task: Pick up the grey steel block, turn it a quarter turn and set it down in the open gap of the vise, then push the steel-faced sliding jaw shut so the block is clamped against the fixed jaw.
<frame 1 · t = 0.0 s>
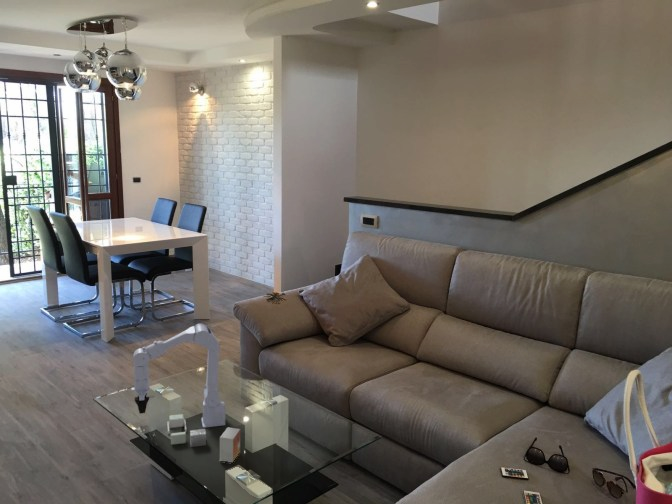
hand: (142, 408, 232), 10 cm above the table, tool pointing down, fingers open, 7 cm apart
vise frame: (178, 442, 226), on the table
sliding jaw: (176, 421, 238), point 2 cm above the table, slide at 0.0 cm
steel block: (198, 443, 227), on the table
small box: (230, 457, 218), on the table
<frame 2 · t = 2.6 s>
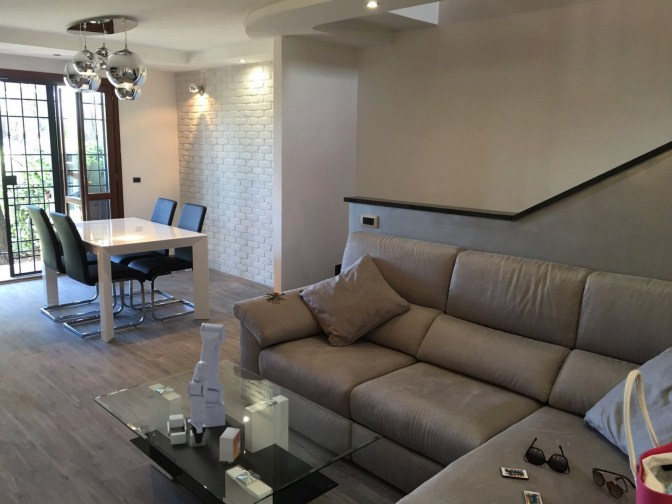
hand: (197, 440, 226), 1 cm above the table, tool pointing down, fingers closed on steel block, 4 cm apart
steel block: (198, 443, 227), on the table, touching gripper
everything else where it was.
when the fingers open (2 cm above the table, at t = 6.4 s): steel block stays where it is, on the table.
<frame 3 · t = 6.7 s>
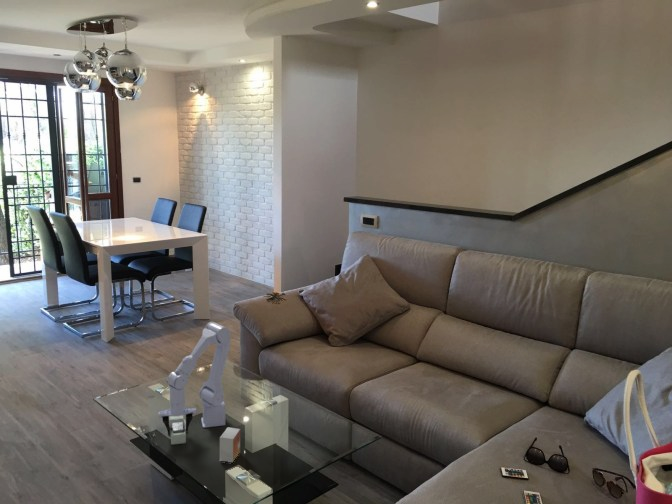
hand: (177, 431, 230), 2 cm above the table, tool pointing down, fingers open, 6 cm apart
steel block: (177, 437, 230), on the table
everything else where it was.
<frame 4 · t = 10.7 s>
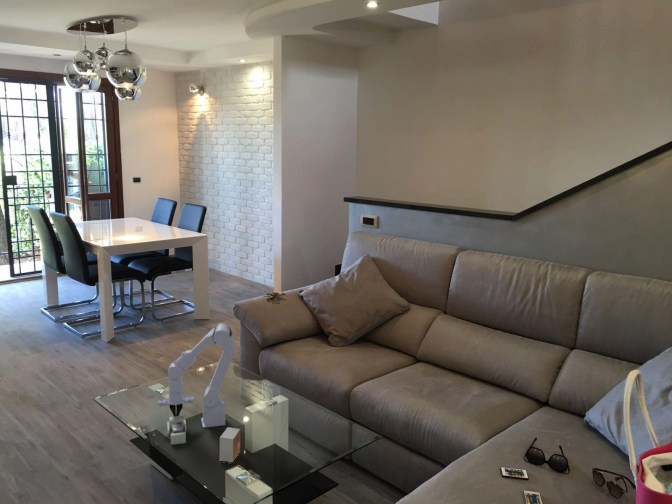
hand: (176, 419, 241), 2 cm above the table, tool pointing down, fingers closed, pressing on sliding jaw
sliding jaw: (176, 422, 237), point 2 cm above the table, slide at 1.1 cm, touching gripper
everything else where it was.
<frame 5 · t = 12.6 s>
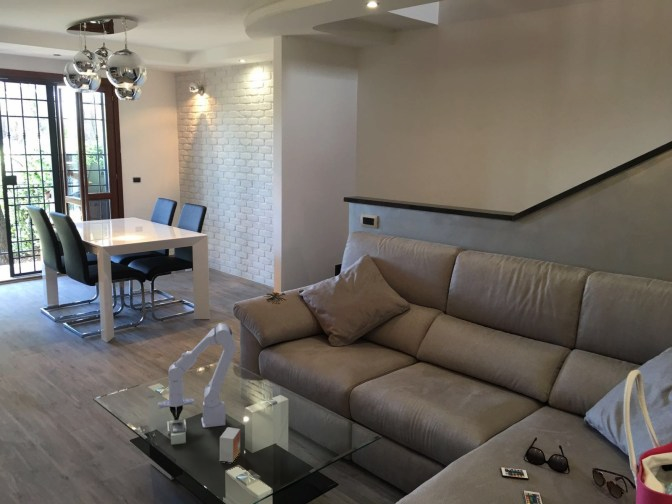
hand: (176, 421, 239), 2 cm above the table, tool pointing down, fingers closed
sliding jaw: (177, 426, 234), point 2 cm above the table, slide at 4.5 cm, touching steel block
steel block: (177, 437, 230), on the table, touching sliding jaw
everything else where it was.
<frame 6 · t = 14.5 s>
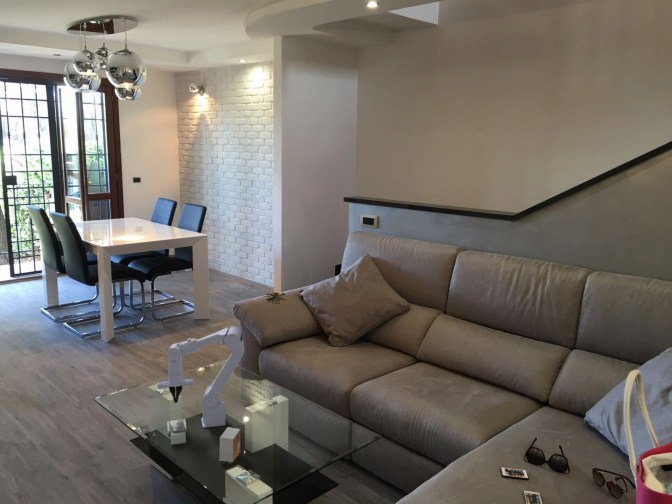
hand: (175, 401, 240), 9 cm above the table, tool pointing down, fingers closed
sliding jaw: (177, 426, 234), point 2 cm above the table, slide at 4.5 cm
steel block: (177, 437, 230), on the table
everything else where it was.
at the end: sliding jaw slide at 4.5 cm; steel block 0.1 cm from the target spot, on the table; steel block tilted 0° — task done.
